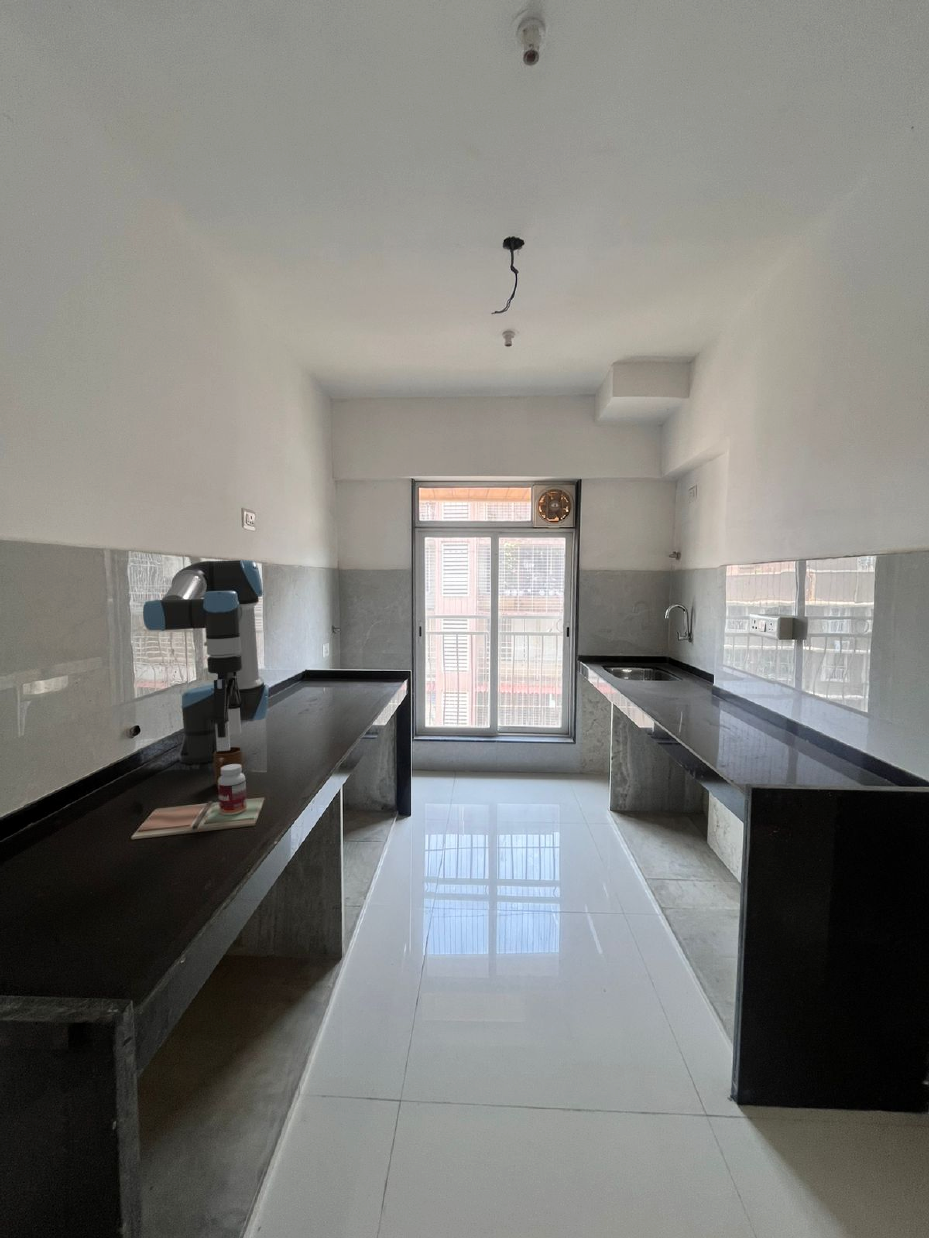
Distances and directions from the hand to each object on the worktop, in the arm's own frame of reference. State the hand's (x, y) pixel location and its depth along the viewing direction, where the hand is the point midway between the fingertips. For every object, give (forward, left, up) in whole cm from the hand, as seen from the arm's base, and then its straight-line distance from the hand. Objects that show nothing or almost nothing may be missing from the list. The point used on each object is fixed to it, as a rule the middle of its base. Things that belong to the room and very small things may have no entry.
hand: (229, 741), depth 135 cm
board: (0, -7, -18) cm, 19 cm away
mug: (-22, -6, -18) cm, 29 cm away
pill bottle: (0, 0, -17) cm, 17 cm away
